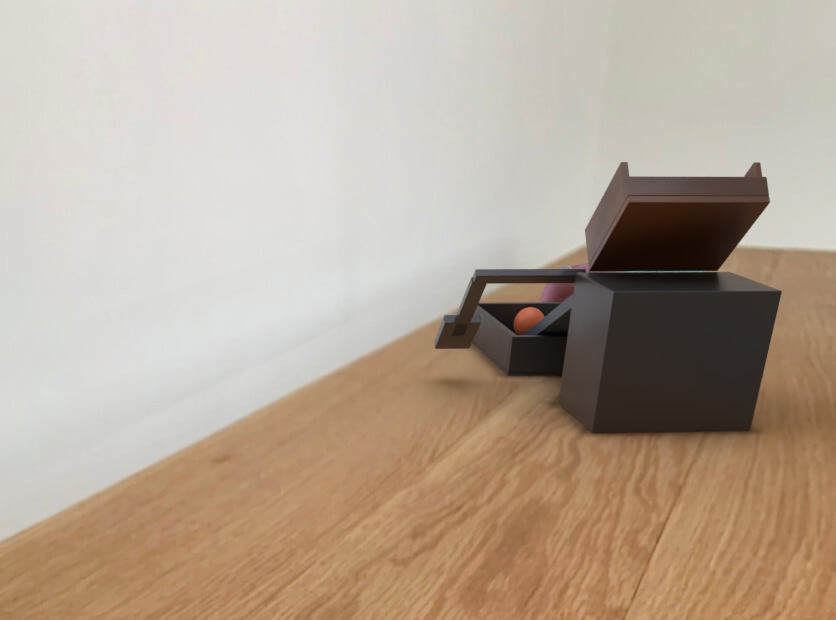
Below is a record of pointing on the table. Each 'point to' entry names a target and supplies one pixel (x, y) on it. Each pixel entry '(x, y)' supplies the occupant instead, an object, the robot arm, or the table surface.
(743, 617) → the table surface
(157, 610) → the table surface
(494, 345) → the tray
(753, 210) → the tipping trough with lever
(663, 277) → the plinth
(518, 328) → the ball terracotta
